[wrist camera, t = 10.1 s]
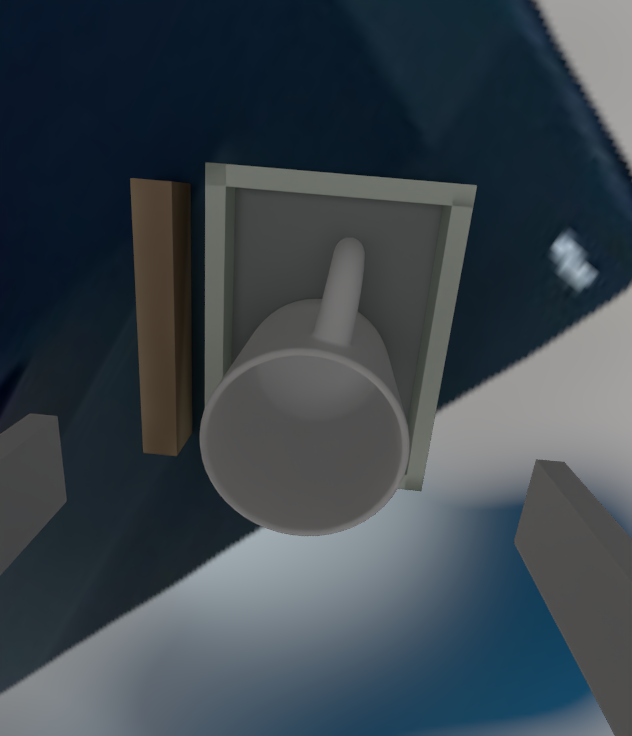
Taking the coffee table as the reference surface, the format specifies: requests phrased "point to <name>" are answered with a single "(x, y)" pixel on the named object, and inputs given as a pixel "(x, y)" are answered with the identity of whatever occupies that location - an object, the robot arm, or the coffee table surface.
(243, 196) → the frame
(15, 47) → the coffee table surface
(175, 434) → the edge rail
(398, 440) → the mug
